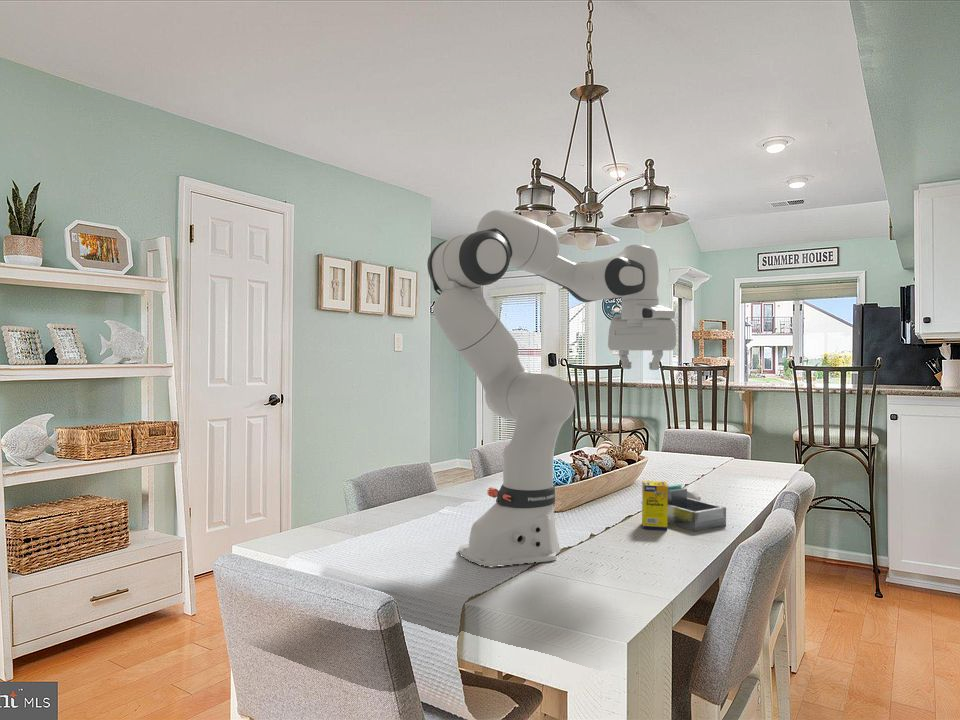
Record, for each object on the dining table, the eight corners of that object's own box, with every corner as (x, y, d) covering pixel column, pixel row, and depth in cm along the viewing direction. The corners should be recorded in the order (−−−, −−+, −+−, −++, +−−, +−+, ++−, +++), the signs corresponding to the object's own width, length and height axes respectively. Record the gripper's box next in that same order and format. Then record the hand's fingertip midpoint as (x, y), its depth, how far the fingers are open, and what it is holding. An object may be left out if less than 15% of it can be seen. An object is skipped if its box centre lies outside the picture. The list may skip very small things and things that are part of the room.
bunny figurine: (693, 495, 182) (642, 482, 191) (691, 512, 182) (640, 499, 191) (705, 489, 189) (655, 477, 198) (702, 506, 190) (653, 493, 199)
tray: (695, 531, 159) (695, 497, 159) (647, 516, 173) (648, 485, 173) (725, 525, 165) (726, 492, 165) (677, 511, 179) (678, 481, 179)
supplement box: (667, 530, 160) (668, 486, 160) (642, 529, 161) (642, 485, 161) (666, 524, 166) (666, 481, 166) (641, 523, 167) (641, 480, 167)
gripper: (602, 314, 168) (602, 368, 168) (660, 310, 150) (660, 370, 150) (620, 315, 171) (621, 368, 171) (680, 311, 153) (680, 370, 153)
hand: (640, 369), depth 160 cm, fingers open, 8 cm apart
